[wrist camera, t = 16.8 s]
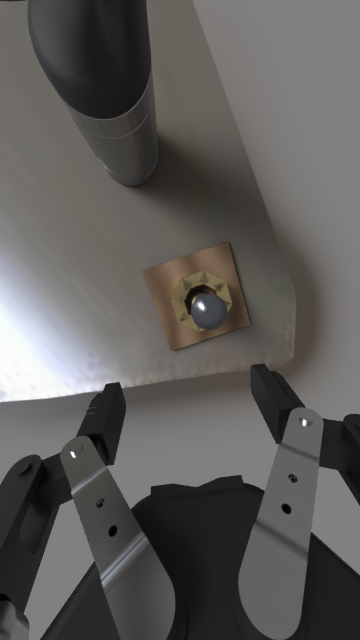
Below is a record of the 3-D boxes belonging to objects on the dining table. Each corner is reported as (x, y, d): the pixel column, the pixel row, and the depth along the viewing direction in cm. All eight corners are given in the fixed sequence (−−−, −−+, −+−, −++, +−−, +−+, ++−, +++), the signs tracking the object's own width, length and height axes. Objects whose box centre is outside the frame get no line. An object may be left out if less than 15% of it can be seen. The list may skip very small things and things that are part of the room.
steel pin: (180, 303, 41) (184, 318, 30) (194, 281, 40) (204, 287, 29) (202, 316, 42) (214, 336, 30) (216, 295, 41) (234, 306, 30)
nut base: (171, 349, 44) (172, 359, 39) (142, 270, 40) (139, 271, 36) (248, 323, 44) (258, 330, 39) (226, 241, 40) (235, 238, 35)
